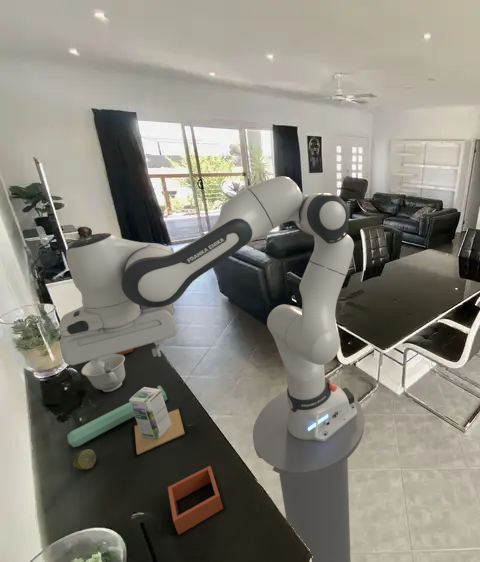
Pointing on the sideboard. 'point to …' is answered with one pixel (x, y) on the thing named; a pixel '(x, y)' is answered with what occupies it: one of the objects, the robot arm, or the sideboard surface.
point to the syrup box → (150, 412)
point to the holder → (198, 511)
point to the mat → (171, 433)
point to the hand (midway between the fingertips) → (133, 363)
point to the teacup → (109, 379)
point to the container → (103, 424)
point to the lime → (84, 459)
